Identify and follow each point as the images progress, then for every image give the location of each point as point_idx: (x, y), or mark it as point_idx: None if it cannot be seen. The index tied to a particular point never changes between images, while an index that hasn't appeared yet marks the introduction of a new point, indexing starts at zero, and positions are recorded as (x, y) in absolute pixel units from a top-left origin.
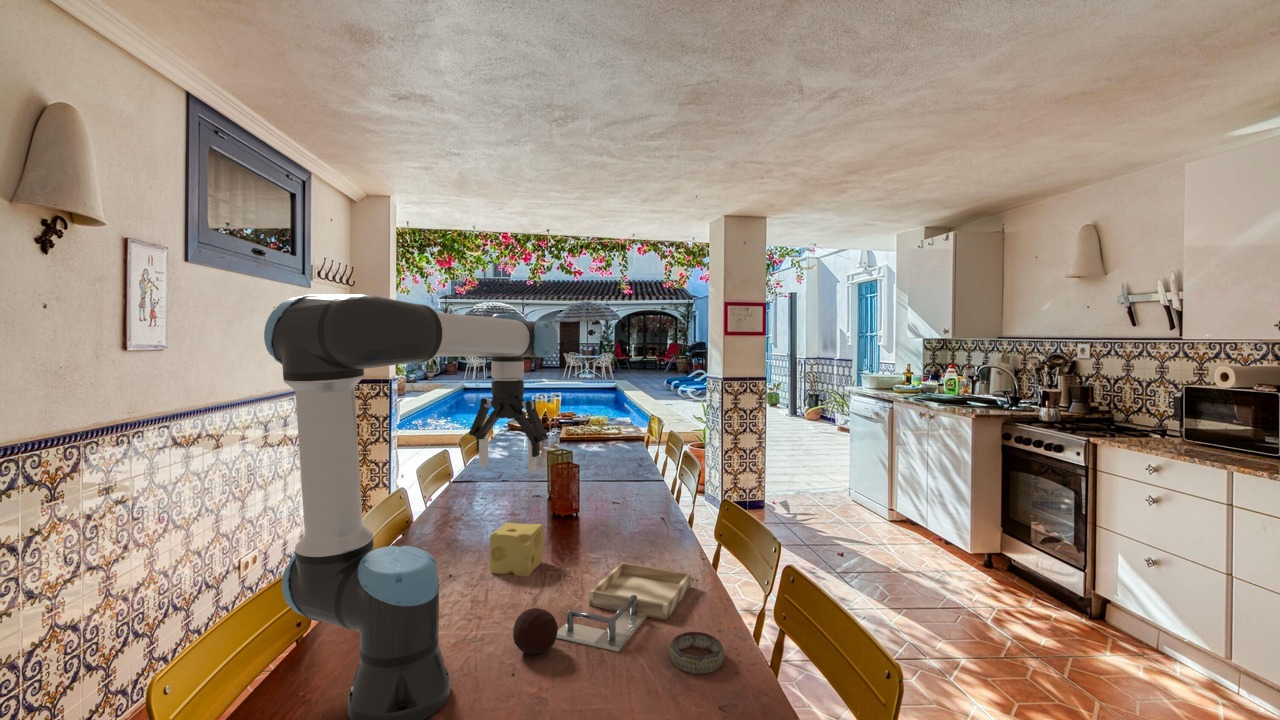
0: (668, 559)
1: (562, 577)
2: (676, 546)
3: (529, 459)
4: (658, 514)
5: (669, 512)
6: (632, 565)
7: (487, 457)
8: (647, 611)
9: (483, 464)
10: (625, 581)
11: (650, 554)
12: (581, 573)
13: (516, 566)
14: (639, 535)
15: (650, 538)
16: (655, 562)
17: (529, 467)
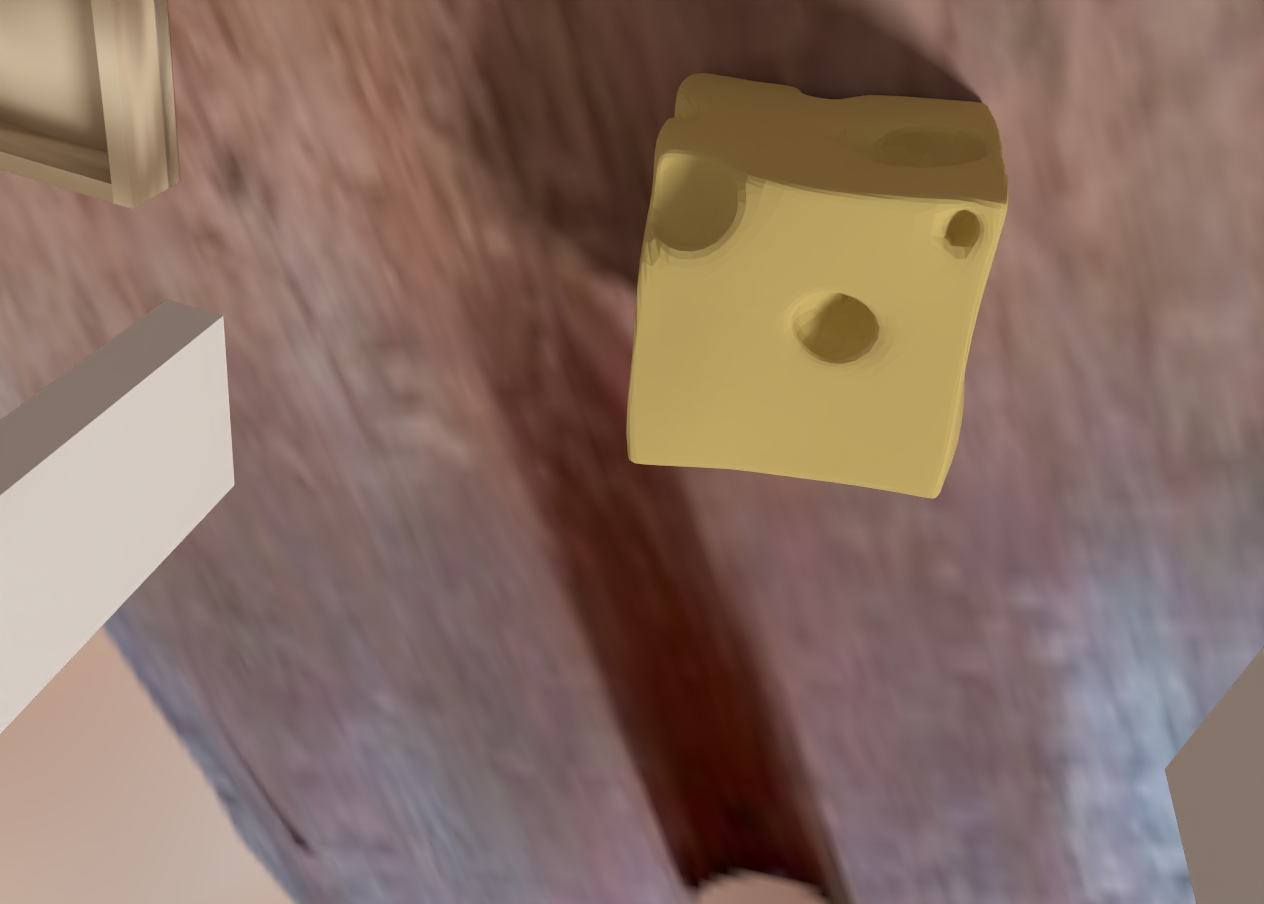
0: None
1: (480, 102)
2: None
3: (29, 427)
4: (333, 879)
5: (298, 894)
6: (55, 167)
7: (1206, 875)
8: None
9: (1251, 688)
10: (85, 49)
11: None
12: (395, 178)
13: (775, 100)
14: (314, 671)
15: (252, 638)
16: None
17: (145, 342)
